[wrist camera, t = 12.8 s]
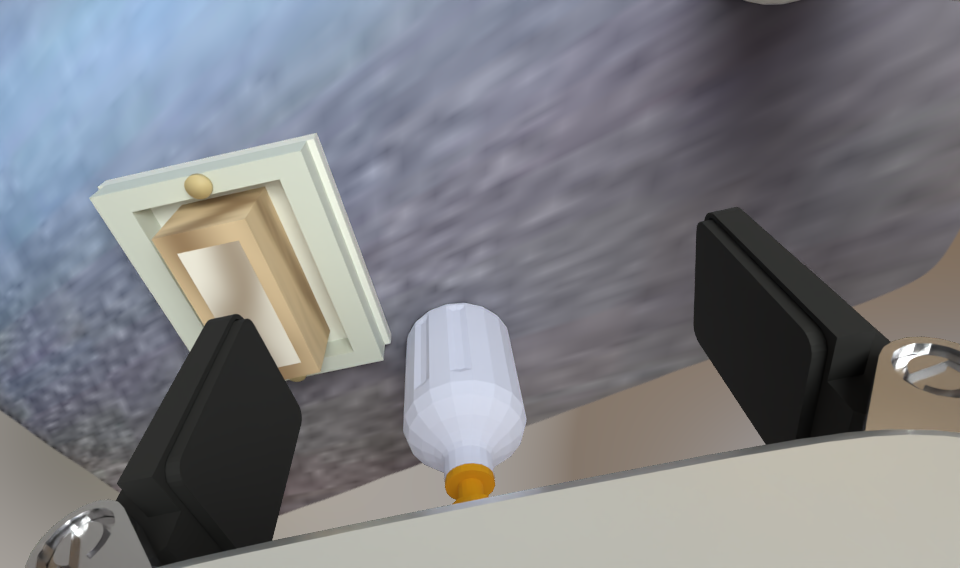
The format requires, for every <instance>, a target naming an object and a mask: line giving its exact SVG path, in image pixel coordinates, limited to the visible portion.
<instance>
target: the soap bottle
mask: <svg viewBox="0 0 960 568" xmlns="http://www.w3.org/2000/svg"><path fill="white" fill-rule="evenodd" d="M526 421H527V419H526V415H525V410H524V405H523V400H522V395H521V391H520V386H519V381H518V376H517V372H516V367H515V362H514V357H513V352H512V348H511V343H510V338H509V334H508V330H507V327H506V326H505V325H504V323H503V322H502V321H501V320H500V318H499V317H498V316H497V315H496V314H494V313H492V312H491V311H489V310H487V309H486V308H484V307H482V306H478V305H473V304H468V303H454V304H445V305H443V306H440V307H437V308H435V309H432V310H430V311H428V312H427V313H426V314H425V315H423V316H422V317H421V318H420V319H419V320H417V321H416V322H415V324H414V326H413V327H412V329H411V331H410V333H409V334H408V337H407V349H406V372H405V397H404V421H403V432H404V435H405V437H406V439H407V442H408V444H409V446H410V448H411V451H412V453H413V455H414V456H416V457H417V458H418V459H419V460H420V461H421V462H422V463H423V464H425V465H427V466H429V467H431V468H434V469H436V470H438V471H441V472H443V473H444V476H445V488H446V491H447V494H448V495H449V496H450V497H451V498H453V499H456V501H455V502H454V503H453V504H457V503H463V502H468V501H473V500H478V499H483V498H488V495H489V494H490V493H491V492H493V489H494V487H495V480H494V478H495V477H494V469H493V468H494V467H496V466H497V465H499V464H500V463H502V462H503V461H505V460H506V459H508V458H509V457H511V456H512V454H513V453H514V452H515V450H516V449H517V448H518V447H519V445H520V444H521V440H522V436H523V432H524V429H525V425H526Z"/></svg>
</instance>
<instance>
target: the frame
mask: <svg viewBox="0 0 960 568" xmlns="http://www.w3.org/2000/svg"><path fill="white" fill-rule="evenodd" d="M151 240H152V241H153V243H154V245H155V246H156V248H157V249H158V251H159V253H160V254H161V256H162V258H163V259H164V261H165V262H166V264H167V266H168V267H169V269H170V271H171V272H172V274H173V275H174V277H175V279H176V280H177V282H178V284H179V285H180V287H181V289H182V290H183V292H184V293H185V295H186V297H187V298H188V300H189V302H190V303H191V305H192V306H193V308H194V310H195V311H196V313H197V315H198V316H199V318H200V319H201V321H202V323H203V324H204V326H205V324H206V322H207V321H208V320H210V319H214V318H219V317H223V316H228V315H233V314H239V315H241V316H242V317H243V318H244V319H250V320H251V321H252V322H253V323H254V325H255V327H256V329H257V330H258V332H259V334H260V336H261V338H262V340H263V341H264V343H265V345H266V347H267V349H268V350H269V352H270V354H271V356H272V358H273V360H274V361H275V363H276V365H277V367H278V369H279V371H280V372H281V374H282V376H283V378H284V380H286V379H291V378H295V377H300V376H305V375H310V374H314V373H319V372H321V368H322V364H323V359H324V355H325V351H326V346H327V342H328V338H329V334H330V329H329V327H328V325H327V323H326V320H325V318H324V316H323V314H322V312H321V309H320V307H319V305H318V303H317V300H316V298H315V296H314V294H313V292H312V289H311V287H310V285H309V283H308V280H307V278H306V276H305V274H304V272H303V269H302V267H301V265H300V263H299V261H298V258H297V256H296V254H295V252H294V249H293V247H292V245H291V243H290V241H289V238H288V236H287V234H286V232H285V230H284V227H283V225H282V223H281V221H280V218H279V216H278V214H277V212H276V210H275V207H274V205H273V203H272V201H271V198H270V196H269V194H268V192H267V190H266V187H260V188H256V189H251V190H247V191H242V192H238V193H233V194H229V195H224V196H220V197H215V198H211V199H206V200H202V201H197V202H193V203H188V204H184V205H181V206H180V207H179V208H178V210H177V211H176V212H175V213H174V214H173V215H172V216H171V218H170V219H169V220H168V221H167V222H166V223H165V224H164V226H163V227H162V228H161V229H160V230H159V231H158V232H157V234H156V235H155V236H154V237H153V238H152V239H151Z"/></svg>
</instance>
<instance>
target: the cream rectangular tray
mask: <svg viewBox="0 0 960 568" xmlns="http://www.w3.org/2000/svg"><path fill="white" fill-rule="evenodd" d="M260 187H266V190H267V192H268V194H269V196H270V198H271V201H272V203H273V205H274V207H275V210H276V212H277V214H278V216H279V218H280V221H281V223H282V225H283V227H284V230H285V232H286V234H287V236H288V238H289V241H290V243H291V245H292V247H293V249H294V252H295V254H296V256H297V258H298V261H299V263H300V265H301V267H302V269H303V272H304V274H305V276H306V278H307V280H308V283H309V285H310V287H311V289H312V292H313V294H314V296H315V298H316V300H317V303H318V305H319V307H320V309H321V312H322V314H323V316H324V318H325V320H326V323H327V325H328V327H329V329H330V334H329V338H328V342H327V346H326V351H325V355H324V359H323V364H322V368H321V372H319V373H314V374H310V375H305V376H300V377H295V378H291V379H286V380H285V381H287V380H291V381H294V382H300V381H302V380H304V379H305V378H306V376H311V375H315V374H320V373H325V372H330V371H335V370H339V369H344V368H349V367H354V366H359V365H363V364H368V363H373V362H378V361H382V360H384V350H385V344H390V343H391V332H390V329H389V327H388V324H387V321H386V319H385V316H384V313H383V310H382V308H381V305H380V302H379V300H378V297H377V294H376V292H375V289H374V286H373V283H372V281H371V278H370V275H369V273H368V270H367V267H366V265H365V262H364V259H363V257H362V254H361V251H360V248H359V246H358V243H357V240H356V238H355V235H354V232H353V230H352V227H351V224H350V221H349V219H348V216H347V213H346V211H345V208H344V205H343V203H342V200H341V197H340V194H339V192H338V189H337V186H336V184H335V181H334V178H333V176H332V173H331V170H330V168H329V165H328V162H327V159H326V157H325V154H324V151H323V149H322V146H321V143H320V141H319V138H318V135H317V133H314V134H310V135H306V136H301V137H297V138H292V139H288V140H283V141H279V142H274V143H270V144H266V145H261V146H257V147H252V148H248V149H243V150H239V151H234V152H230V153H225V154H221V155H217V156H212V157H208V158H203V159H199V160H194V161H190V162H185V163H181V164H177V165H172V166H168V167H163V168H159V169H154V170H150V171H145V172H141V173H137V174H132V175H128V176H123V177H119V178H114V179H110V180H106V181H105V182H103V183H102V184H101V185H100V186H98V189H99V191H97V192H96V193H95V194H94V195H92V196H91V197H90V200H91V202H92V203H93V205H94V206H95V208H96V209H97V211H98V212H99V214H100V215H101V217H102V218H103V220H104V221H105V223H106V224H107V226H108V228H109V229H110V231H111V232H112V234H113V235H114V237H115V238H116V240H117V241H118V243H119V244H120V246H121V247H122V249H123V250H124V252H125V253H126V255H127V257H128V258H129V260H130V261H131V263H132V264H133V266H134V267H135V269H136V270H137V272H138V273H139V275H140V276H141V278H142V279H143V281H144V282H145V284H146V286H147V287H148V289H149V290H150V292H151V293H152V295H153V296H154V298H155V299H156V301H157V302H158V304H159V305H160V307H161V308H162V310H163V312H164V313H165V315H166V316H167V318H168V319H169V321H170V322H171V324H172V325H173V327H174V328H175V330H176V331H177V333H178V334H179V336H180V337H181V339H182V341H183V342H184V344H185V345H186V347H187V348H188V350H189V351H191V349H192V347H193V345H194V344H195V342H196V340H197V338H198V336H199V335H200V333H201V331H202V329H203V327H204V324H203V323H202V321H201V319H200V318H199V316H198V315H197V313H196V311H195V310H194V308H193V306H192V305H191V303H190V302H189V300H188V298H187V297H186V295H185V293H184V292H183V290H182V289H181V287H180V285H179V284H178V282H177V280H176V279H175V277H174V275H173V274H172V272H171V271H170V269H169V267H168V266H167V264H166V262H165V261H164V259H163V258H162V256H161V254H160V253H159V251H158V249H157V248H156V246H155V245H154V243H153V241H152V240H151V239H152V238H153V237H154V236H155V235H156V234H157V232H158V231H159V230H160V229H161V228H162V227H163V226H164V224H165V223H166V222H167V221H168V220H169V219H170V218H171V216H172V215H173V214H174V213H175V212H176V211H177V210H178V208H179V207H180V206H181V205H184V204H188V203H193V202H197V201H202V200H206V199H211V198H215V197H220V196H224V195H229V194H233V193H238V192H242V191H247V190H251V189H256V188H260Z"/></svg>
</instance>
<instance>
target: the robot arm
mask: <svg viewBox="0 0 960 568" xmlns="http://www.w3.org/2000/svg"><path fill="white" fill-rule="evenodd" d="M745 1H747V2H752V3H758V4H763V5H775V4H786V3H790V2H795V1H799V0H745ZM951 1H959V2H960V0H951ZM694 331H695V335H696V338H697V340H698V342H699V344H700V345H701V347H702V348H703V350H704V351H705V353H706V354H707V356H708V357H709V359H710V360H711V362H712V363H713V365H714V366H715V368H716V369H717V371H718V373H719V374H720V376H721V377H722V379H723V380H724V382H725V383H726V385H727V386H728V388H729V389H730V391H731V392H732V394H733V395H734V397H735V398H736V400H737V401H738V403H739V404H740V406H741V408H742V409H743V411H744V412H745V413H746V415H747V417H748V418H749V420H750V421H751V423H752V424H753V426H754V427H755V429H756V430H757V432H758V433H759V435H760V436H761V438H762V439H763V441H764V442H765V444H766V445H763V446H757V447H752V448H745V449H740V450H734V451H728V452H722V453H717V454H711V455H706V456H701V457H695V458H690V459H685V460H679V461H674V462H669V463H664V464H659V465H653V466H648V467H643V468H638V469H632V470H627V471H622V472H617V473H611V474H606V475H601V476H596V477H591V478H586V479H580V480H575V481H570V482H564V483H560V484H554V485H549V486H544V487H539V488H534V489H529V490H524V491H518V492H513V493H508V494H503V495H498V496H493V497H488V498H483V499H478V500H473V501H468V502H463V503H457V504H452V505H447V506H442V507H437V508H432V509H427V510H422V511H417V512H412V513H407V514H402V515H397V516H392V517H387V518H382V519H377V520H372V521H367V522H363V523H358V524H353V525H348V526H343V527H338V528H333V529H328V530H324V531H318V532H313V533H308V534H303V535H299V536H293V537H288V538H283V539H278V540H274V541H272V538H273V535H274V531H275V527H276V523H277V518H278V515H279V511H280V507H281V503H282V499H283V495H284V491H285V487H286V483H287V479H288V475H289V471H290V467H291V463H292V459H293V455H294V451H295V447H296V443H297V438H298V434H299V430H300V426H301V421H302V416H301V411H300V407H299V405H298V403H297V402H296V400H295V398H294V396H293V394H292V392H291V391H290V389H289V387H288V385H287V383H286V381H285V380H284V378H283V376H282V374H281V372H280V371H279V369H278V367H277V365H276V363H275V361H274V360H273V358H272V356H271V354H270V352H269V350H268V349H267V347H266V345H265V343H264V341H263V340H262V338H261V336H260V334H259V332H258V330H257V329H256V327H255V325H254V323H253V322H252V321H251V320H250V319H244V318H243V317H242V316H241V315H239V314H233V315H228V316H223V317H219V318H214V319H210V320H208V321H207V322H206V324H205V326H204V327H203V329H202V331H201V333H200V335H199V336H198V338H197V340H196V342H195V344H194V345H193V347H192V349H191V351H190V353H189V354H188V356H187V358H186V360H185V362H184V363H183V365H182V367H181V369H180V371H179V372H178V374H177V376H176V378H175V380H174V381H173V383H172V385H171V387H170V389H169V391H168V392H167V394H166V396H165V398H164V400H163V401H162V403H161V405H160V407H159V409H158V410H157V412H156V414H155V416H154V418H153V419H152V421H151V423H150V425H149V427H148V428H147V430H146V432H145V434H144V436H143V437H142V439H141V441H140V443H139V445H138V446H137V448H136V450H135V452H134V454H133V455H132V457H131V459H130V461H129V463H128V465H127V466H126V468H125V470H124V472H123V474H122V475H121V477H120V479H119V481H118V483H117V484H118V486H119V487H120V488H121V489H122V490H121V492H120V494H119V496H118V498H117V500H116V501H113V500H109V499H108V500H100V501H95V502H92V503H90V504H87V505H85V506H82V507H80V508H78V509H77V510H75V511H73V512H71V513H70V514H68V515H67V516H65V517H64V518H63V519H62V520H60V521H59V522H58V523H56V524H55V525H54V526H53V527H52V528H51V529H50V530H49V531H48V532H47V533H46V534H45V535H44V536H43V537H42V538H41V539H40V540H39V542H38V543H37V545H36V546H35V547H34V549H33V550H32V552H31V553H30V556H29V559H28V561H27V563H26V565H25V568H960V344H958V343H955V342H951V341H947V340H944V339H938V338H930V337H906V338H902V339H899V340H895V341H892V342H890V341H889V340H888V339H887V338H885V337H884V336H883V335H882V334H881V333H880V332H879V331H878V330H877V329H875V328H874V327H873V326H872V325H871V324H870V323H869V322H868V321H866V320H865V319H864V318H863V317H862V316H861V315H860V314H859V313H857V312H856V311H855V310H854V309H853V308H852V307H851V306H850V305H849V304H847V303H846V302H845V301H844V300H843V299H842V298H841V297H840V296H839V295H837V294H836V293H835V292H834V291H833V290H832V289H831V288H830V287H828V286H827V285H826V284H825V283H824V282H823V281H822V280H821V279H819V278H818V277H817V276H816V275H815V274H814V273H813V272H812V271H810V270H809V269H808V268H807V267H806V266H805V265H803V264H802V263H801V262H800V261H799V260H798V259H796V258H795V257H794V256H793V255H792V254H791V253H790V252H789V251H787V250H786V249H785V248H784V247H783V246H782V245H781V244H780V243H778V242H777V241H776V240H775V239H774V238H773V237H772V236H771V235H770V234H768V233H767V232H766V231H765V230H764V229H763V228H762V227H761V226H759V225H758V224H757V223H756V222H755V221H754V220H753V219H752V218H750V217H749V216H748V215H747V214H746V213H745V212H744V211H743V210H742V209H740V208H738V207H734V208H729V209H725V210H720V211H715V212H711V213H708V214H707V215H706V217H705V221H702V222H699V223H698V225H697V233H696V265H695V297H694Z"/></svg>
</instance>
